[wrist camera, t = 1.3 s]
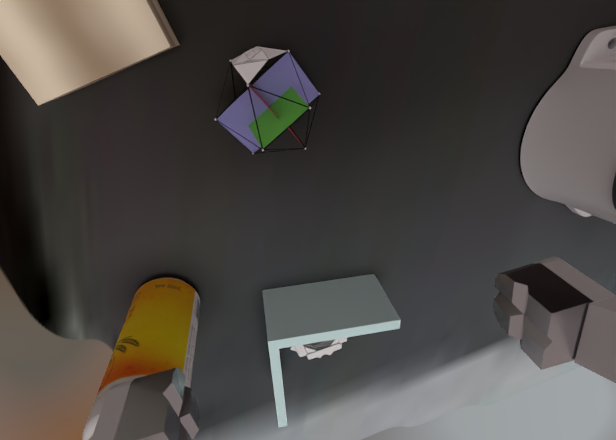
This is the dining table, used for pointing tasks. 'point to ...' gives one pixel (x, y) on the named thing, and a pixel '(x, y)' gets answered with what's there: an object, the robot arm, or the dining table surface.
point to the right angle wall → (322, 320)
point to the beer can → (152, 338)
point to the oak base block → (78, 41)
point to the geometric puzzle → (267, 98)
